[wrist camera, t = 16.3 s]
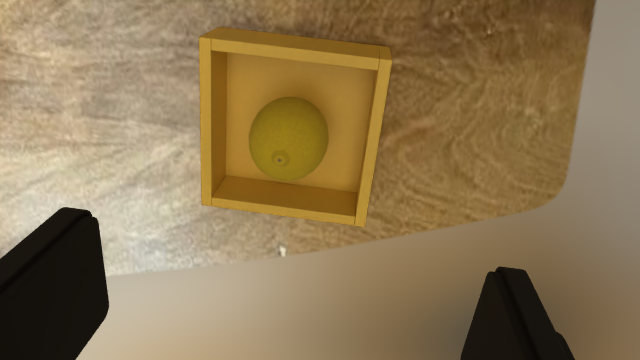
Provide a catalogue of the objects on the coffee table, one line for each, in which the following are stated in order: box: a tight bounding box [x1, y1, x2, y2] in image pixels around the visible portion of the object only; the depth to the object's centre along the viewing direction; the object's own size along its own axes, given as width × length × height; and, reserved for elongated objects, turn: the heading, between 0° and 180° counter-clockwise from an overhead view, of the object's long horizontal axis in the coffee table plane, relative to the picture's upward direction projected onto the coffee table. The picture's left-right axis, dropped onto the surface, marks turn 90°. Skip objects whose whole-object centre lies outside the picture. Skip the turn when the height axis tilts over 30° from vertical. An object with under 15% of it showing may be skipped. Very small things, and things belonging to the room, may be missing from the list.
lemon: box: [249, 97, 329, 181], centre depth 33 cm, size 6×6×8 cm
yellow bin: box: [199, 27, 392, 227], centre depth 35 cm, size 13×13×5 cm
